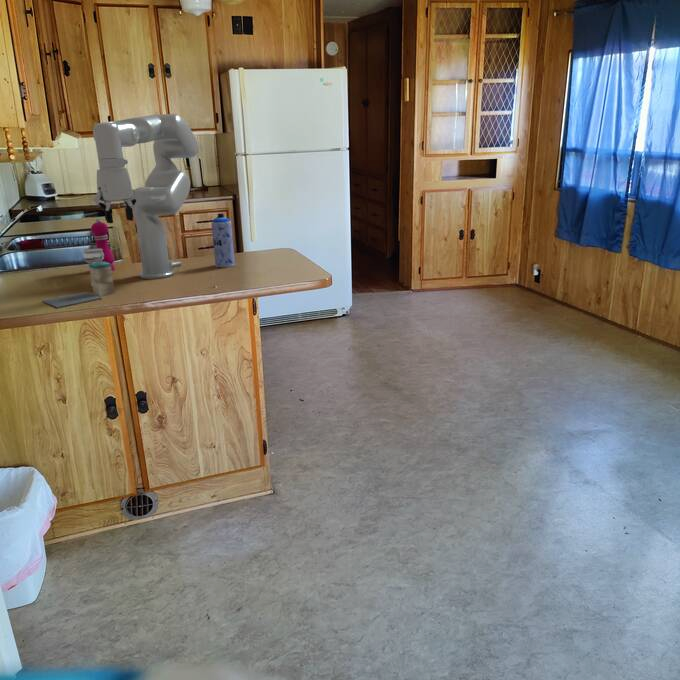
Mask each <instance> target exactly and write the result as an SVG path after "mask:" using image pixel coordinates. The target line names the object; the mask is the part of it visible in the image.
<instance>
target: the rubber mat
mask: <svg viewBox="0 0 680 680" xmlns="http://www.w3.org/2000/svg"><path fill="white" fill-rule="evenodd" d="M102 299H103V298H102V296H101V297H100V296H97V295H95V294H94V293H91V292H89V291H83V292H79V293H73V294H69V295H64V296H58V297H54V298H48V299H44V300H42V302H43V303H45V304H46V305H49V306H50V307H53V308H55V309H60V308H61V309H62V308H67V307H71V306H75V305H80V304H84V303H89V302H94V301H98V300H102Z"/></svg>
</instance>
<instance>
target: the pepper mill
mask: <svg viewBox="0 0 680 680" xmlns="http://www.w3.org/2000/svg"><path fill="white" fill-rule="evenodd" d="M90 230H91V233H92V234H93V238H94V239H93V240H94V241H95V243H96V248H102V249H103V250H102V252H103V254H104V259H103V260H102V262H107V263H110V264H111V271H112V270H113V271H115V264H114V262H115V255H114V253H113V252H112V250H111V248H110V247H109V244H108V239H109V235H108V231H109V227H108V225H107V224H106V223H105V222H102V221H101V218H99V217H97V218H95V222H94V223H93V224H92V225H91V228H90ZM113 271H112V272H113Z"/></svg>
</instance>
